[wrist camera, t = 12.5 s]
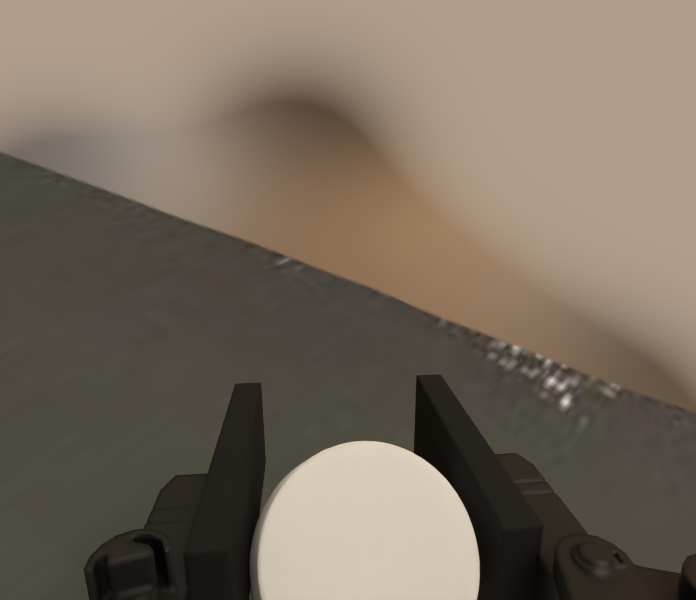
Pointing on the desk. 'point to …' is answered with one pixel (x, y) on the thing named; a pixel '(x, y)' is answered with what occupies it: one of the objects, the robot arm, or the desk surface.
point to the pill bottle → (364, 531)
